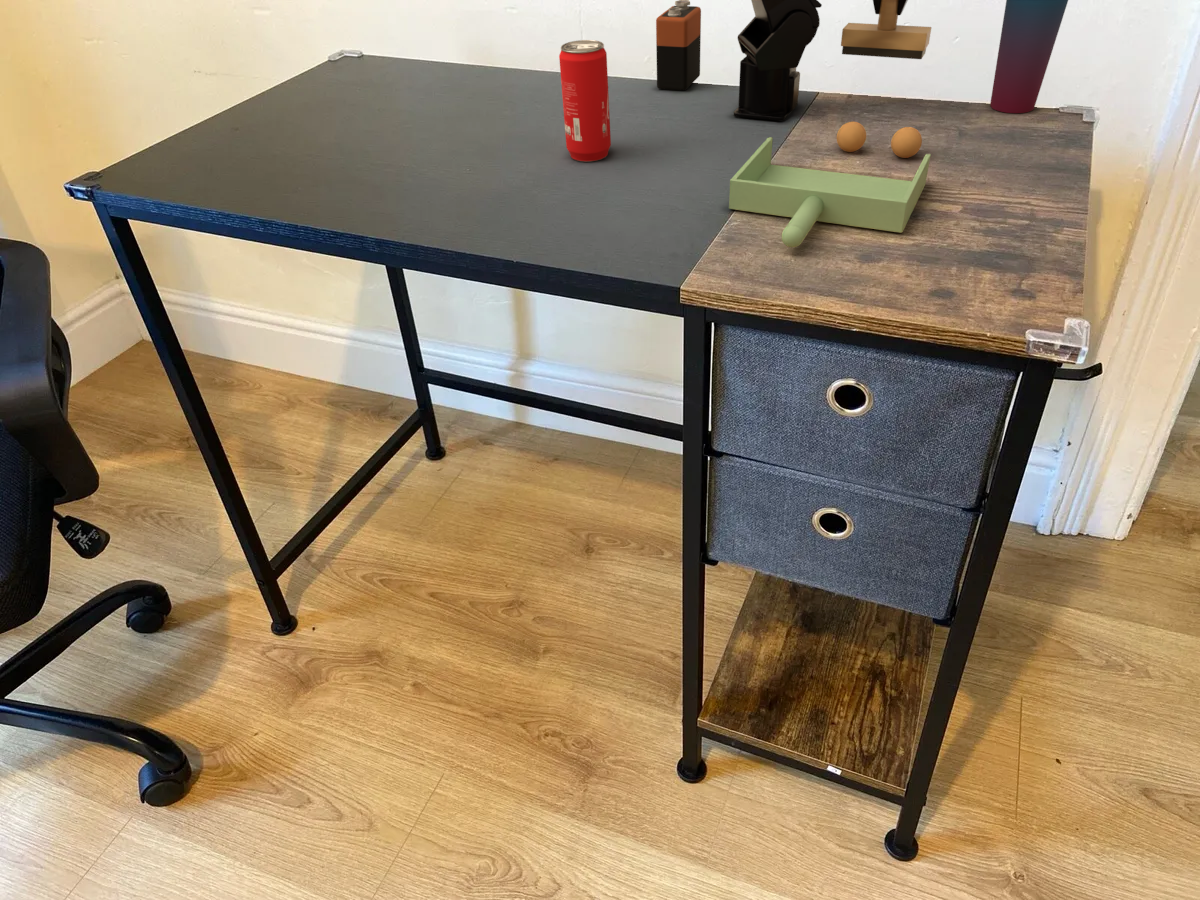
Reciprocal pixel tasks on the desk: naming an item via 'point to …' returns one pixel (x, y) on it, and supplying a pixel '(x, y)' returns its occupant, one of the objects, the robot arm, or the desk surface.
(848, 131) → the cork ball
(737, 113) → the robot arm
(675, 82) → the battery
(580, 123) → the beverage can
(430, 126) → the desk surface
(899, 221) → the dustpan
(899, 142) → the cork ball
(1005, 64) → the cup
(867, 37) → the brush
